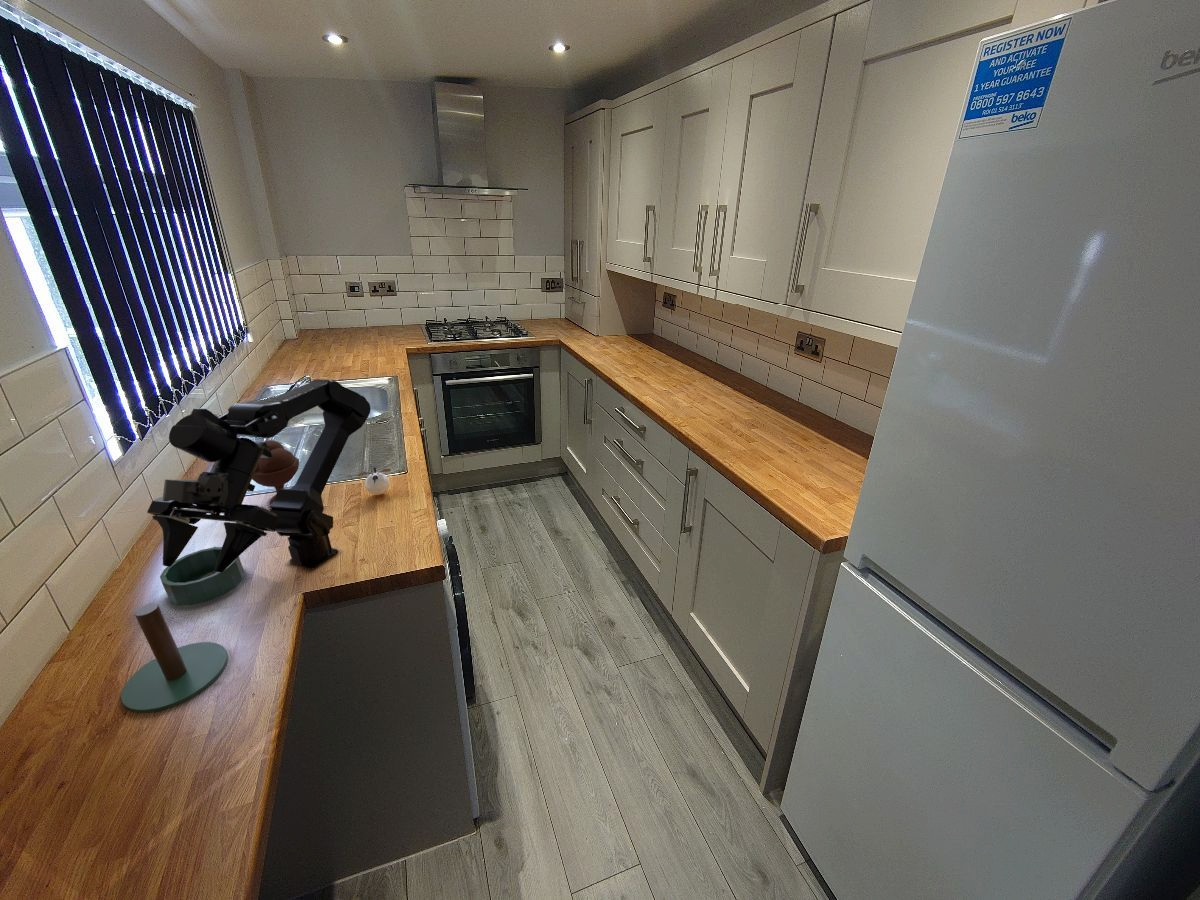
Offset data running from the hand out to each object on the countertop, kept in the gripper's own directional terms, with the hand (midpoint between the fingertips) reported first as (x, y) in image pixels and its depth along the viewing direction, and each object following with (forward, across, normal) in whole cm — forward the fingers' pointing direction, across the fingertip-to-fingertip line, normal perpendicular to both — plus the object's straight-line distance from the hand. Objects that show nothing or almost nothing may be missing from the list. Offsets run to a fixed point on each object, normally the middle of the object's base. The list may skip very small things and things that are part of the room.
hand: (192, 569), depth 79 cm
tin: (+1, -14, +18) cm, 23 cm away
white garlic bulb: (-29, -2, +42) cm, 51 cm away
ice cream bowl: (-22, -24, +40) cm, 52 cm away
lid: (+15, 0, +5) cm, 16 cm away
